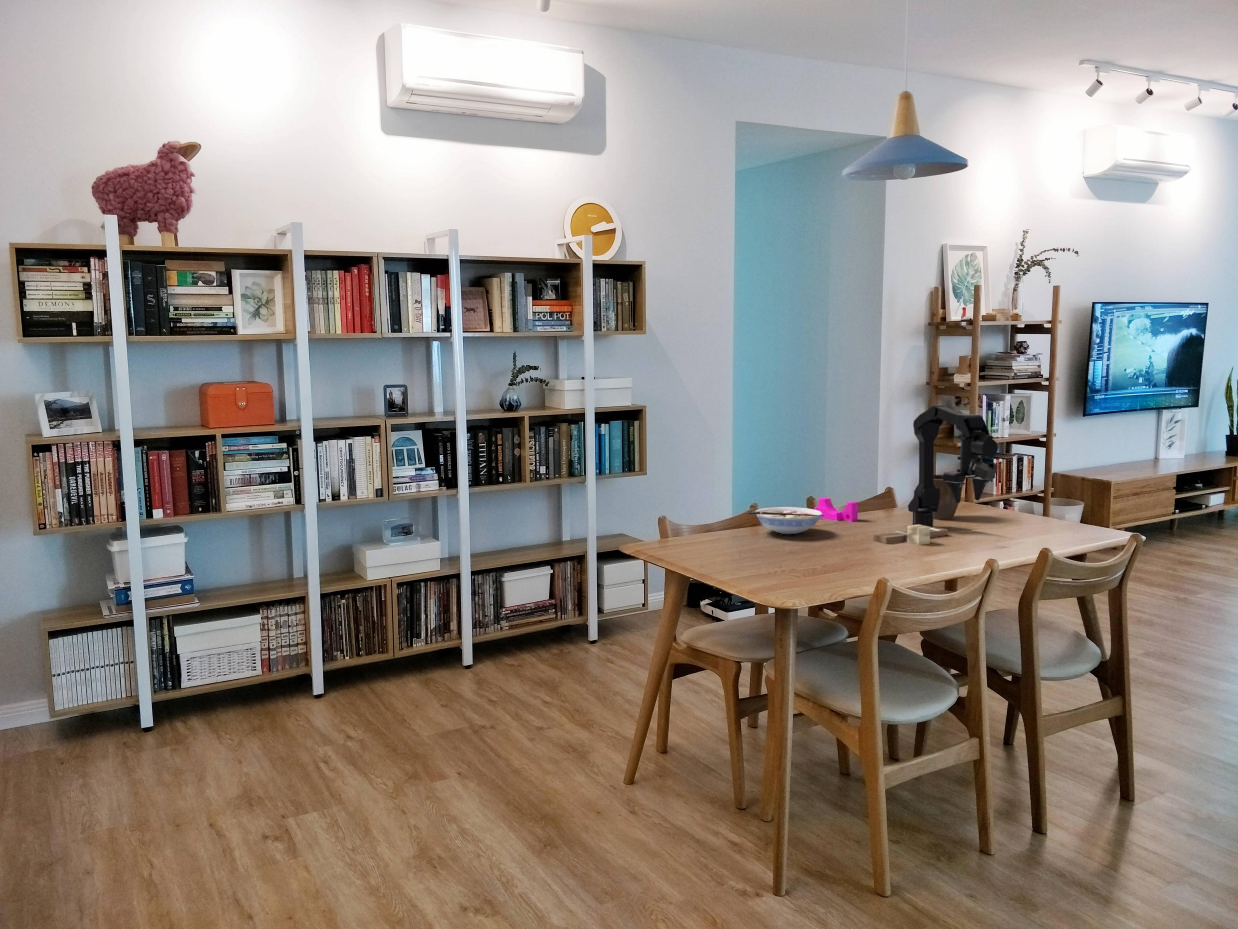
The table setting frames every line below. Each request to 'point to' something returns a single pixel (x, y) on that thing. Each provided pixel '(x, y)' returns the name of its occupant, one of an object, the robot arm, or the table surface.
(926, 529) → the cream cube
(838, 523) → the table surface
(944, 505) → the plant pot
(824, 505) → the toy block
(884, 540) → the walnut plank
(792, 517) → the ramen bowl
